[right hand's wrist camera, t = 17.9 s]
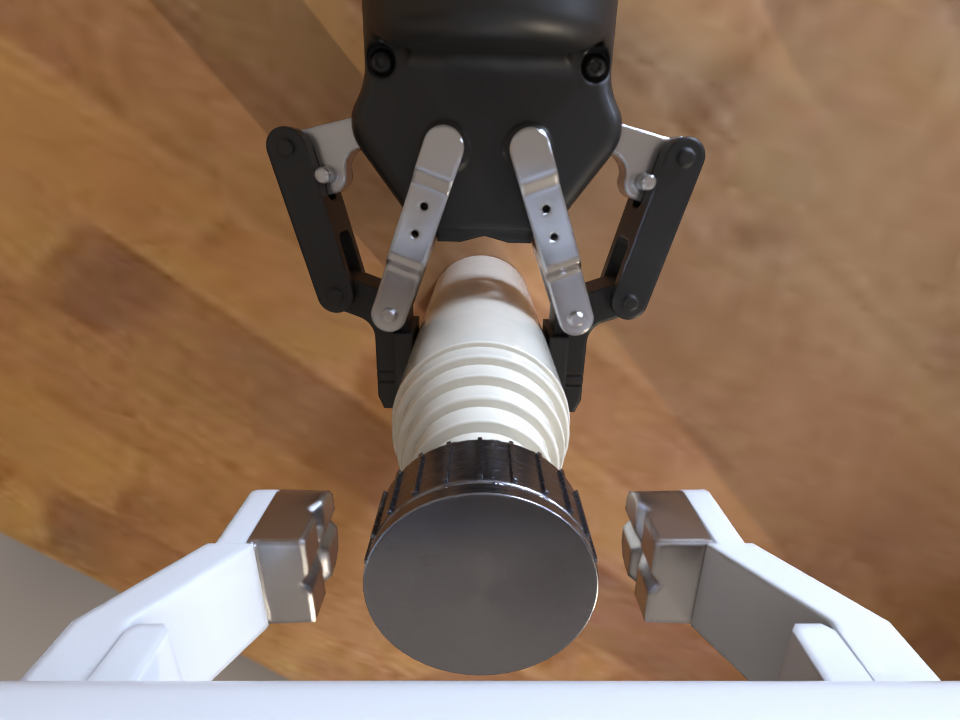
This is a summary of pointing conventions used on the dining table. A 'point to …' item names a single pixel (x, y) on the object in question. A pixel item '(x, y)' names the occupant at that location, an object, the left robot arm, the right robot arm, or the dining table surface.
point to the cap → (480, 559)
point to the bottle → (480, 369)
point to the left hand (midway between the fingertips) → (479, 413)
